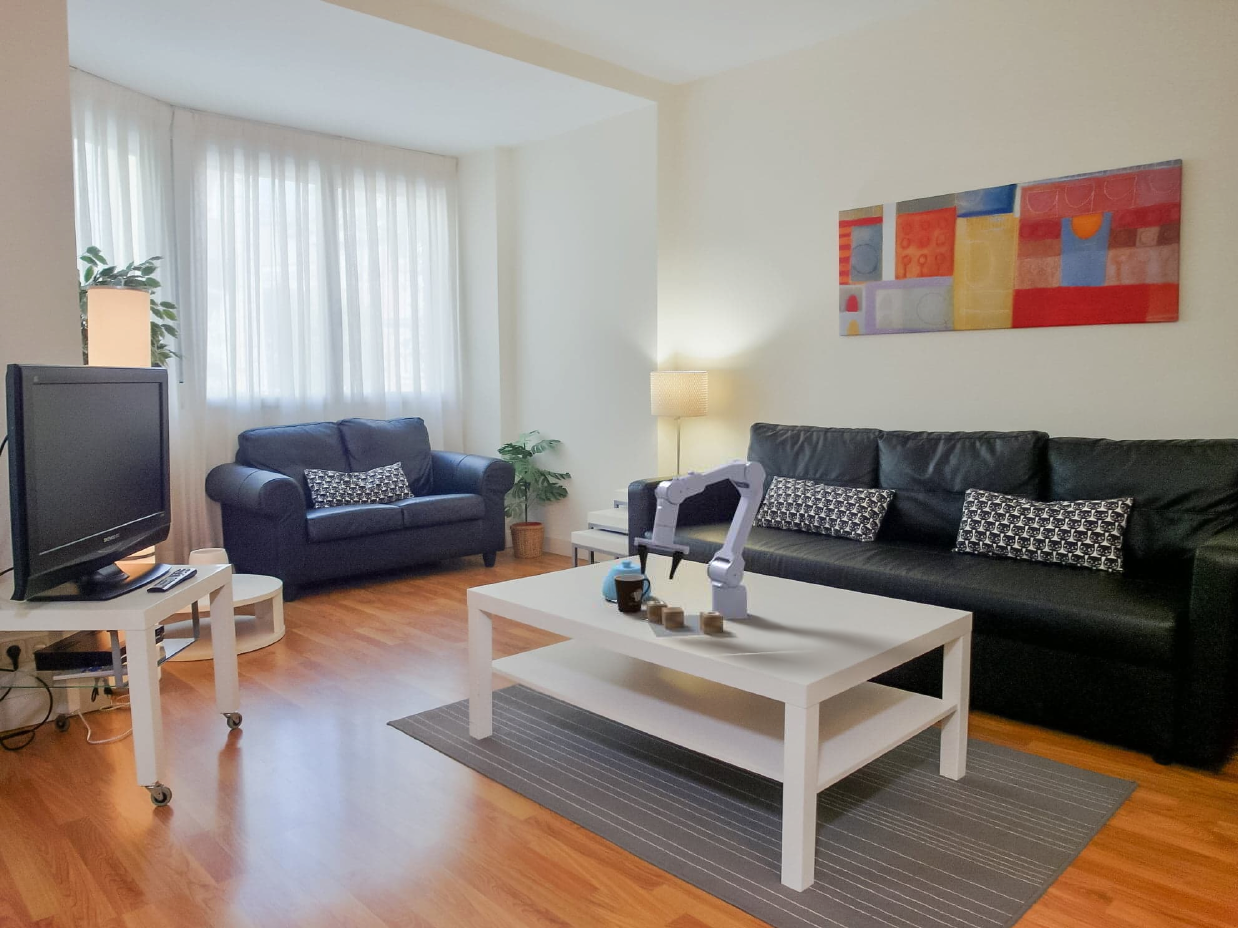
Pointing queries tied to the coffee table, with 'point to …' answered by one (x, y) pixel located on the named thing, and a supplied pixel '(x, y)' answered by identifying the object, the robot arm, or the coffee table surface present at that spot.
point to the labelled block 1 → (655, 610)
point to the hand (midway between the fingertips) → (656, 576)
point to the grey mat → (689, 628)
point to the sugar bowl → (623, 569)
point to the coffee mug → (630, 592)
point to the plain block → (672, 617)
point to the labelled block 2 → (711, 622)
